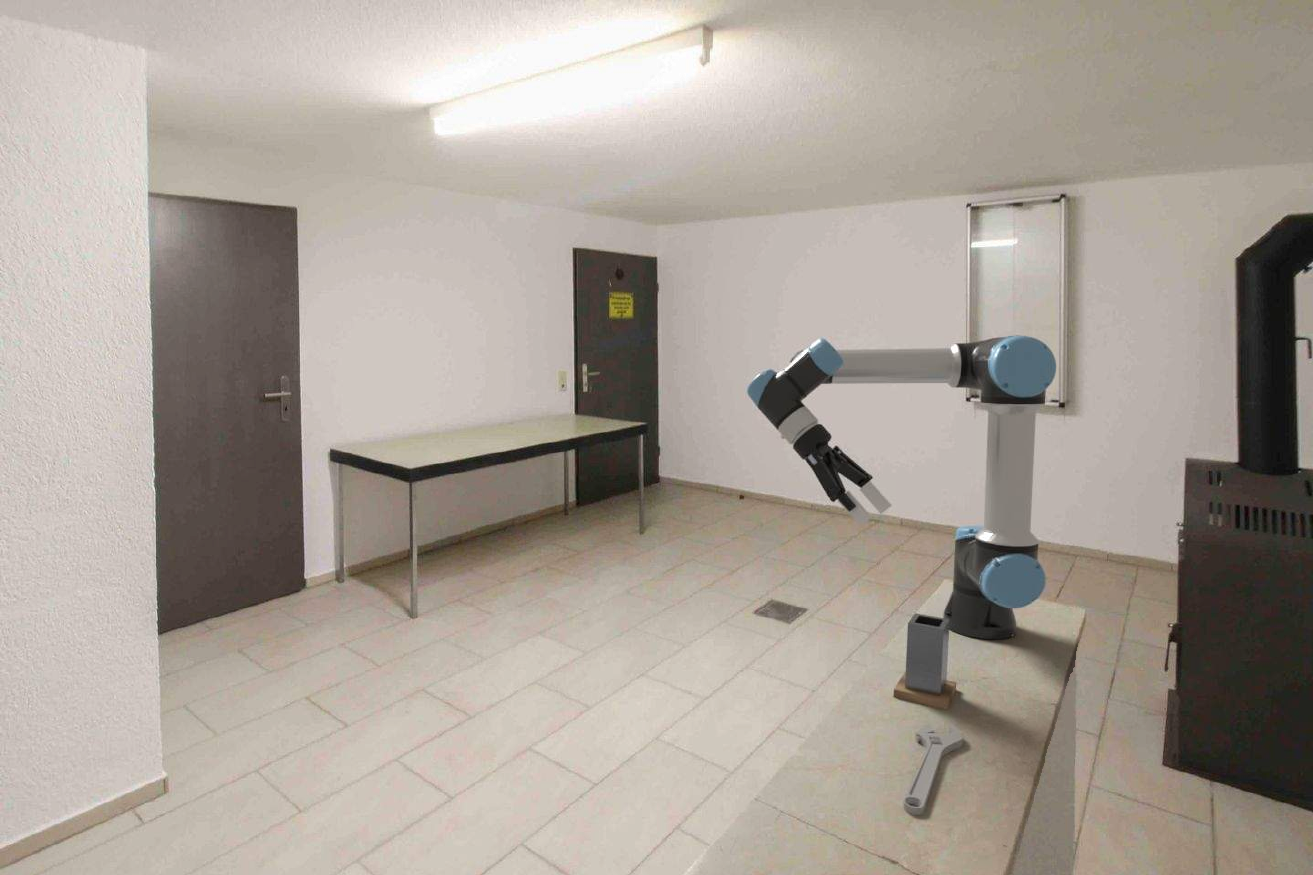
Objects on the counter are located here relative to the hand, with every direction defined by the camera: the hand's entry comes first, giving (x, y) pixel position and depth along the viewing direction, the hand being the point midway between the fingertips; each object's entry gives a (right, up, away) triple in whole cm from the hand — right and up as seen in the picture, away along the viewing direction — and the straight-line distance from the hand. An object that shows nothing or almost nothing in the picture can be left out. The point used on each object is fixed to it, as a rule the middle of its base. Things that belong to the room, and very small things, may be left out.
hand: (876, 515), depth 141 cm
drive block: (+6, -32, -10) cm, 34 cm away
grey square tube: (+6, -30, -10) cm, 32 cm away
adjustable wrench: (-3, -34, -33) cm, 48 cm away
